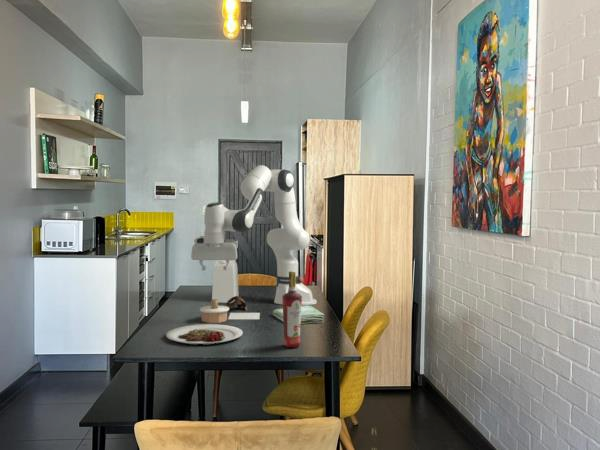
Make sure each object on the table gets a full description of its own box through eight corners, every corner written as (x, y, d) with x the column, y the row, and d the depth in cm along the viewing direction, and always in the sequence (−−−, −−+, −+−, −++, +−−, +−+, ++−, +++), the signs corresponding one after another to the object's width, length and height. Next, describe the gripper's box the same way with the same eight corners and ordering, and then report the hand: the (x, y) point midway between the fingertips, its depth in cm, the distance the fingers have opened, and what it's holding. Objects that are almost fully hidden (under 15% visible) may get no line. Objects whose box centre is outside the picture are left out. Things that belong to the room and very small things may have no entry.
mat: (259, 314, 268) (259, 312, 268) (259, 320, 254) (259, 319, 254) (230, 314, 267) (230, 312, 267) (228, 320, 253) (228, 319, 253)
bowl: (227, 318, 258) (227, 307, 257) (225, 323, 247) (225, 312, 247) (203, 318, 257) (203, 307, 257) (200, 323, 246) (200, 312, 246)
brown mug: (247, 314, 270) (239, 299, 268) (230, 321, 272) (222, 307, 270) (250, 303, 282) (242, 289, 280) (234, 310, 284) (226, 297, 281)
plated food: (192, 326, 243) (192, 318, 243) (255, 332, 232) (255, 324, 232) (150, 342, 216) (150, 333, 215) (219, 351, 205) (219, 341, 204)
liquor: (295, 342, 216) (296, 270, 214) (305, 347, 209) (305, 272, 208) (278, 345, 212) (279, 271, 211) (287, 349, 206) (288, 273, 204)
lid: (230, 307, 259) (230, 296, 258) (228, 313, 246) (228, 302, 245) (201, 307, 258) (201, 296, 258) (198, 313, 245) (198, 302, 245)
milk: (238, 298, 307) (239, 251, 306) (234, 302, 296) (234, 253, 294) (217, 298, 308) (217, 250, 307) (211, 302, 297) (211, 253, 295)
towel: (287, 327, 244) (287, 315, 243) (272, 317, 263) (272, 306, 263) (326, 323, 250) (326, 312, 250) (308, 314, 270) (308, 303, 270)
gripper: (238, 238, 254) (238, 269, 255) (192, 238, 253) (192, 269, 253) (237, 239, 248) (237, 271, 248) (190, 239, 246) (190, 271, 247)
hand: (214, 270), depth 251 cm, fingers open, 8 cm apart
